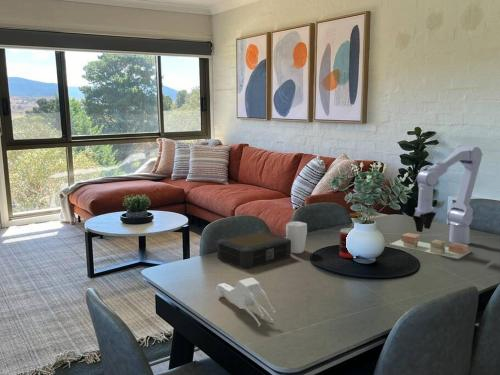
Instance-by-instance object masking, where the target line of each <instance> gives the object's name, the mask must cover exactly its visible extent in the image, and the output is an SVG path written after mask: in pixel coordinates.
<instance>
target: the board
mask: <svg viewBox="0 0 500 375" xmlns="http://www.w3.org/2000/svg"><path fill="white" fill-rule="evenodd" d="M403 244H404V242H403V241H401V239H398V240H396V241H394V242H391V243H390V245H391V246H392V245H394V246H397V247H401V248H406V249H411V250H416V251H420V252H424V253H430V254H434V255H437V256H444V257H447V258H453V259H455V260H456V259H457V260H459V259H461V258H462V257H465V256H466V255H468V254H470V253H471V251H468V252H466V253H464V254H458V253H453V252H448V250H449V246H445V252H443V253H441V254H438V253H433V252H430V245H431V243H429V242H424V241H421V240H420V241H419V242H418V246H416V247H414V248H410V247H406V246H403Z"/></svg>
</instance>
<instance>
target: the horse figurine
mask: <svg viewBox="0 0 500 375" xmlns="http://www.w3.org/2000/svg"><path fill="white" fill-rule="evenodd" d="M215 289H216V294H217V295H218V298H219V299H221V298H224V297H225V295H226V296H227V297H228V298H229V299H230V300H232V301H233V303H234V304H235V305H236V306H237V308H239V309H241V310H242V309H243V310H245V311H246V313H248V314H250V316H251V317H252V318H253V319H254V321H256V323H257V326H258V327H259V328H260V327H261V325H262V323H261V322H259V321H260V320H259V319H258V318H257V317H256V316H255V314H254V313H253V312H252V311H251V310H250V308H248V307H250V306H256V307H257V309H258V311H259V314H260V316H261V319H264V316H265V315H266V316H267V318H268V319H269V322H270V324H272V323H273V320H274V319H272V317H271V315H270V314H269V313H268V312H267V311H266V310H265V308H264V307H262V305H261V304H260V303H259V302H258V299H259V294H260V295H262V296H263V297H264V298H265V300H266V301H267V303H268V305H269V307H270V308H271V311H272V315H273V316H275V314H276V312H277V311H276V310H275V308H274V306H272V304H271V302H270V300H269V297H268V296H267V293H266V292H265V290H263V289H262V286H261V283H260V282H259V281H258V280H256V279H255V278H254V277H247V278H244V279H240V280H238V281H237V283H236V285H235V286H234V287H233V286H231V285H230V284H227V283H225V282H223V283H218V284H217V286H216V288H215ZM264 314H265V315H264Z"/></svg>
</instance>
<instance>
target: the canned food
mask: <svg viewBox="0 0 500 375" xmlns="http://www.w3.org/2000/svg"><path fill="white" fill-rule="evenodd" d="M352 229H354V228H350V227H345V228H341V229H340V231H339V256H340V257H341V258H342V257H343V259H346V258H353V256H352V255H351V254H350V253H349V252H348V250H347V248H346V237H347V235H348V233H349V232H350V231H351V230H352Z"/></svg>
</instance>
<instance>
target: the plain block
mask: <svg viewBox="0 0 500 375" xmlns="http://www.w3.org/2000/svg"><path fill="white" fill-rule="evenodd" d="M430 244H431V245H430V252H433V253H438V254H441V253H443V252H445V247H446V241H444V240H439V239H433V240H432V241H430ZM433 253H432V254H433ZM438 254H437V255H438Z"/></svg>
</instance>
